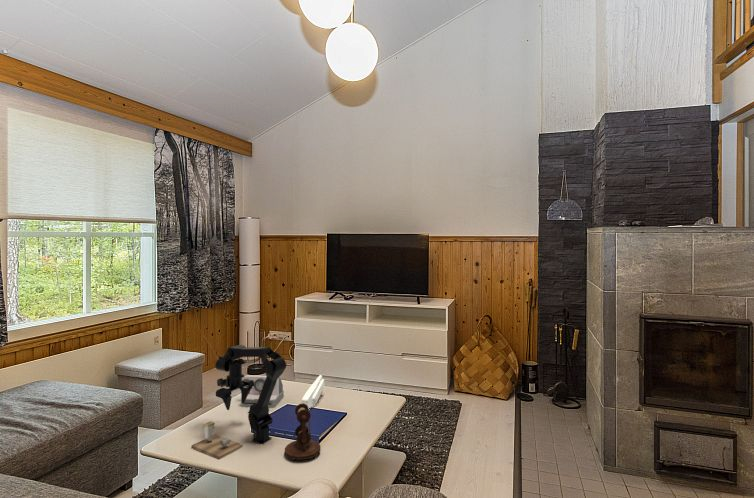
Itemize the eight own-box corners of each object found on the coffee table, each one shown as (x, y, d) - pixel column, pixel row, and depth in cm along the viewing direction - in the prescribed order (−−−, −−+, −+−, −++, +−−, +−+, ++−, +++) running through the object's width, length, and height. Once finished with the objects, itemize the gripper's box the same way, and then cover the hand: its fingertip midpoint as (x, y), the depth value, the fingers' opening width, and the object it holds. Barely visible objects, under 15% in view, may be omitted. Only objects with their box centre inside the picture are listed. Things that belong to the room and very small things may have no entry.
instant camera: (235, 406, 228) (235, 379, 228) (255, 393, 248) (255, 368, 248) (271, 410, 223) (271, 382, 223) (289, 396, 243) (289, 370, 243)
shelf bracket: (326, 395, 245) (325, 375, 243) (311, 421, 221) (309, 399, 219) (317, 394, 246) (316, 374, 244) (301, 420, 223) (299, 399, 220)
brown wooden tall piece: (323, 460, 172) (323, 411, 172) (286, 465, 168) (286, 415, 168) (317, 443, 186) (317, 398, 186) (283, 448, 182) (283, 401, 182)
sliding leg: (214, 440, 186) (214, 422, 186) (208, 443, 183) (208, 425, 183) (210, 439, 187) (210, 421, 187) (204, 442, 184) (204, 423, 184)
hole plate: (242, 447, 183) (242, 436, 183) (219, 459, 173) (219, 447, 173) (214, 437, 192) (214, 426, 192) (191, 448, 182) (191, 437, 182)
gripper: (237, 365, 209) (238, 397, 209) (206, 376, 193) (207, 410, 193) (254, 368, 204) (255, 401, 204) (224, 379, 187) (224, 414, 188)
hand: (235, 406), depth 197 cm, fingers open, 9 cm apart
